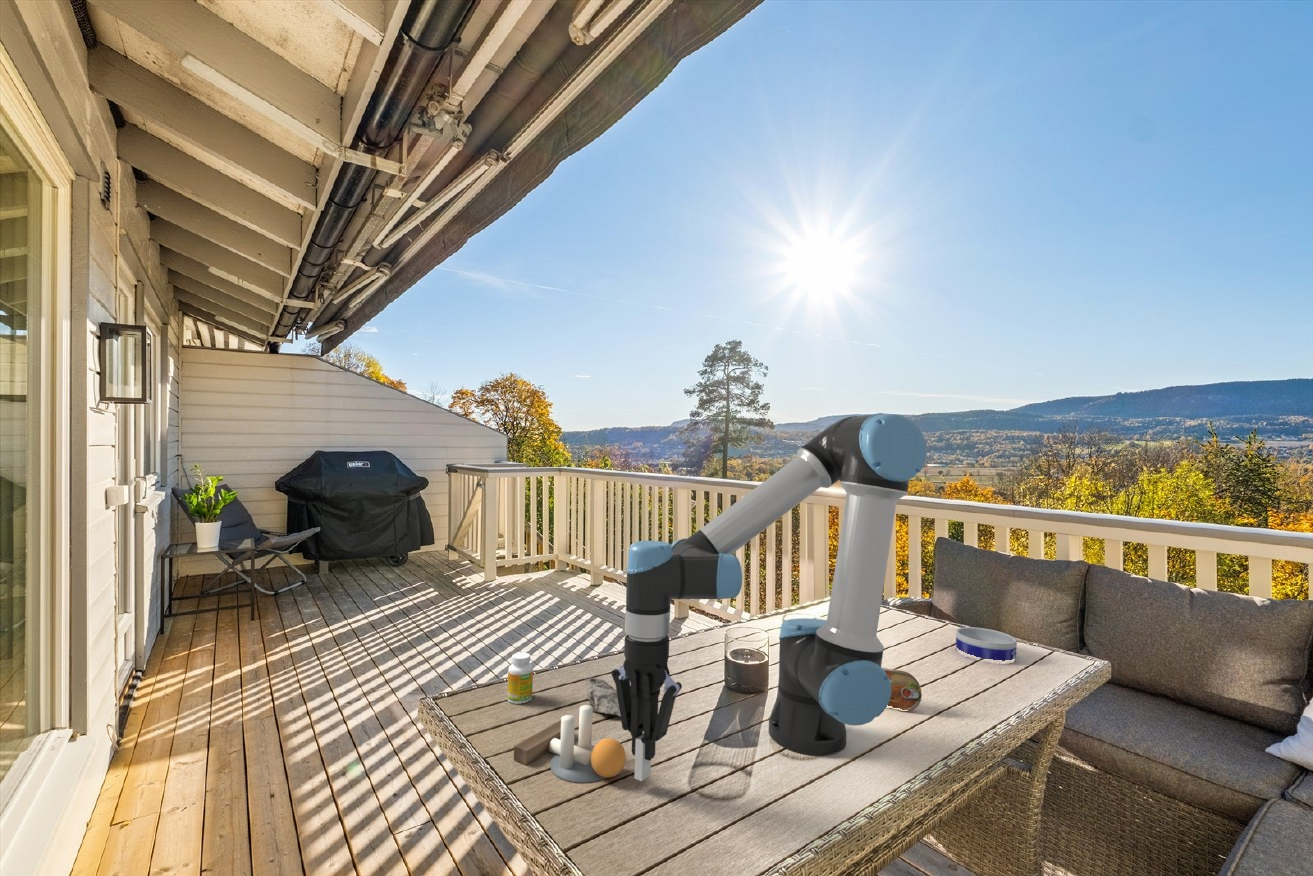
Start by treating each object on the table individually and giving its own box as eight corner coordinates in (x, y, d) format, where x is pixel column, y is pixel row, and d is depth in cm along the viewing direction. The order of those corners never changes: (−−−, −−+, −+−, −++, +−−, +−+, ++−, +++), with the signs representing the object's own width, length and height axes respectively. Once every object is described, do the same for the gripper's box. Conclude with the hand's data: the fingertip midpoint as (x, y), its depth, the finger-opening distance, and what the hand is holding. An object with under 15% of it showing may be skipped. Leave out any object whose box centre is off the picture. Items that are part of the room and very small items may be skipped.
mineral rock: (631, 720, 122) (632, 699, 122) (594, 724, 120) (595, 702, 120) (616, 692, 136) (617, 672, 136) (582, 694, 134) (583, 675, 134)
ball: (607, 726, 105) (601, 757, 105) (587, 741, 100) (581, 773, 100) (635, 742, 102) (628, 773, 102) (616, 757, 97) (609, 791, 97)
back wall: (573, 736, 114) (574, 723, 114) (525, 765, 103) (526, 751, 103) (562, 731, 116) (562, 719, 116) (513, 760, 105) (514, 746, 105)
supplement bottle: (520, 706, 126) (522, 661, 126) (501, 700, 129) (503, 656, 129) (537, 697, 131) (538, 654, 131) (518, 692, 133) (520, 649, 134)
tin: (849, 701, 135) (850, 664, 135) (851, 696, 137) (852, 660, 138) (921, 716, 128) (922, 677, 128) (921, 710, 131) (922, 672, 131)
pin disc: (630, 759, 106) (631, 758, 106) (589, 791, 96) (589, 790, 96) (580, 740, 113) (580, 739, 113) (535, 767, 103) (536, 766, 103)
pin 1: (576, 765, 104) (577, 717, 104) (567, 771, 102) (568, 722, 102) (565, 761, 105) (567, 713, 105) (556, 767, 103) (558, 718, 103)
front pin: (594, 750, 105) (558, 736, 110) (586, 754, 103) (549, 740, 108) (592, 764, 105) (556, 750, 109) (584, 768, 103) (548, 753, 107)
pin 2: (593, 753, 108) (595, 707, 108) (585, 759, 106) (587, 712, 106) (583, 749, 109) (585, 704, 109) (575, 755, 107) (576, 708, 107)
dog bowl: (967, 643, 180) (967, 623, 180) (1023, 657, 169) (1023, 636, 169) (947, 654, 170) (947, 633, 170) (1006, 669, 158) (1006, 647, 158)
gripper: (691, 636, 98) (687, 778, 97) (628, 622, 105) (624, 754, 104) (668, 649, 91) (663, 801, 91) (602, 632, 98) (597, 773, 98)
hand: (642, 776), depth 98 cm, fingers closed
